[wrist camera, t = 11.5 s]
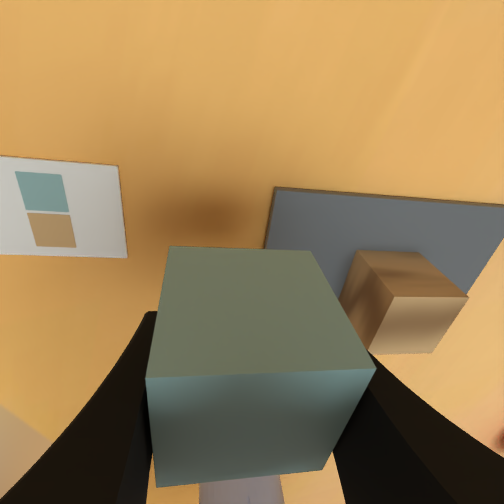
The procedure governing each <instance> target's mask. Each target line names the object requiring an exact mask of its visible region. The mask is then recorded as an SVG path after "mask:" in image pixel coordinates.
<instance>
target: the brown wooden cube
mask: <svg viewBox="0 0 504 504" xmlns="http://www.w3.org/2000/svg"><path fill="white" fill-rule="evenodd" d="M468 299H469V297H468V296H467V295H466V294H465V293H464V292H463V291H461V290H460V289H459V288H458V287H457V286H456V285H455V284H454V283H453V282H451V281H450V280H449V279H448V278H447V277H446V276H445V275H444V274H442V273H441V272H440V271H439V270H438V269H437V268H436V267H435V266H434V265H432V264H431V263H430V262H429V261H428V260H427V259H426V258H425V257H423V256H422V255H421V254H420V253H419V252H397V251H372V250H356V253H355V256H354V259H353V261H352V264H351V267H350V269H349V272H348V275H347V277H346V280H345V283H344V286H343V288H342V291H341V294H340V296H339V299H338V301H339V302H340V304H341V306H342V308H343V310H344V311H345V313H346V315H347V317H348V318H349V320H350V322H351V324H352V326H353V327H354V329H355V331H356V333H357V334H358V336H359V338H360V340H361V342H362V343H363V345H364V347H365V348H366V349H367V350H368V351H369V352H370V353H371V354H372V355H383V354H417V353H432V352H433V351H434V349H435V348H436V346H437V345H438V343H439V342H440V340H441V339H442V337H443V336H444V334H445V333H446V331H447V330H448V328H449V327H450V325H451V324H452V323H453V321H454V320H455V318H456V317H457V315H458V314H459V312H460V311H461V309H462V308H463V306H464V305H465V303H466V302H467V300H468Z"/></svg>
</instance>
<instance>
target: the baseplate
mask: <svg viewBox="0 0 504 504" xmlns="http://www.w3.org/2000/svg"><path fill="white" fill-rule="evenodd" d="M503 238H504V205H499V204H486V203H474V202H461V201H449V200H436V199H423V198H411V197H398V196H386V195H373V194H360V193H348V192H335V191H323V190H310V189H297V188H285V187H275V189H274V195H273V201H272V206H271V212H270V217H269V223H268V229H267V234H266V240H265V246H264V249H272V250H300V251H311V253H312V254H313V256H314V258H315V260H316V262H317V263H318V265H319V267H320V269H321V270H322V272H323V274H324V276H325V278H326V279H327V281H328V283H329V285H330V286H331V288H332V290H333V292H334V294H335V295H336V297H337V299H339V296H340V294H341V291H342V288H343V286H344V283H345V280H346V277H347V275H348V272H349V269H350V267H351V264H352V261H353V259H354V256H355V253H356V250H372V251H397V252H419V253H420V254H421V255H422V256H423V257H425V258H426V259H427V260H428V261H429V262H430V263H431V264H432V265H434V266H435V267H436V268H437V269H438V270H439V271H440V272H441V273H442V274H444V275H445V276H446V277H447V278H448V279H449V280H450V281H451V282H453V283H454V284H455V285H456V286H457V287H458V288H459V289H460V290H461V291H463V292H464V293H465V294H467V293H468V291H469V290H470V288H471V287H472V285H473V284H474V282H475V280H476V279H477V277H478V276H479V274H480V273H481V271H482V270H483V268H484V267H485V265H486V264H487V262H488V261H489V259H490V258H491V256H492V255H493V253H494V252H495V250H496V249H497V247H498V246H499V244H500V243H501V241H502V240H503Z"/></svg>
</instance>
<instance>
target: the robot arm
mask: <svg viewBox="0 0 504 504" xmlns="http://www.w3.org/2000/svg"><path fill="white" fill-rule="evenodd" d="M157 312H158V311H148V312H147V313H146V314H145V315H144V317H143V319H142V321H141V323H140V325H139V327H138V329H137V330H136V332H135V334H134V336H133V337H132V339H131V341H130V342H129V344H128V346H127V347H126V349H125V350H124V352H123V353H122V355H121V356H120V358H119V359H118V361H117V363H116V364H115V366H114V367H113V369H112V370H111V371H110V373H109V374H108V376H107V377H106V378H105V380H104V381H103V382H102V384H101V385H100V386H99V388H98V389H97V391H96V392H95V393H94V395H93V396H92V397H91V399H90V400H89V401H88V402H87V404H86V405H85V406H84V407H83V409H82V410H81V411H80V412H79V414H78V415H77V416H76V417H75V419H74V420H73V421H72V422H71V423H70V424H69V426H68V427H67V428H66V429H65V430H64V432H63V433H62V434H61V435H60V436H59V437H58V438H57V440H56V441H55V442H54V443H53V444H52V445H51V446H50V447H49V448H48V450H47V451H46V452H45V453H44V454H43V455H42V456H41V457H40V459H39V460H38V461H37V462H36V463H35V464H34V465H33V466H32V467H31V468H30V469H29V471H27V472H26V474H25V475H24V476H23V477H22V478H21V479H20V480H19V481H18V482H17V483H16V484H15V485H14V486H13V487H12V488H11V489H10V490H9V491H8V492H7V493H6V494H5V495H4V496H3V497H2V498H1V499H0V504H146V498H147V489H148V480H149V472H150V465H151V459H152V453H153V449H152V439H151V429H150V419H149V409H148V400H147V390H146V380H145V377H146V372H147V366H148V361H149V355H150V350H151V345H152V339H153V334H154V328H155V323H156V317H157ZM365 349H366V348H365ZM366 350H367V349H366ZM367 352H368V354H369V356H370V358H371V359H372V361H373V363H374V365H375V366H376V368H377V369H376V371H375V372H374V374H373V376H372V378H371V380H370V382H369V384H368V385H367V387H366V389H365V391H364V393H363V395H362V397H361V398H360V400H359V402H358V404H357V406H356V408H355V410H354V412H353V413H352V415H351V417H350V419H349V421H348V423H347V425H346V426H345V428H344V430H343V432H342V434H341V436H340V438H339V439H338V441H337V443H336V445H335V447H334V449H333V454H334V458H335V462H336V466H337V470H338V474H339V478H340V482H341V486H342V490H343V494H344V498H345V503H346V504H504V458H503V457H502V456H500V455H499V454H497V453H495V452H494V451H492V450H491V449H489V448H488V447H486V446H485V445H483V444H482V443H480V442H479V441H477V440H476V439H475V438H473V437H472V436H470V435H469V434H468V433H466V432H465V431H463V430H462V429H461V428H459V427H458V426H456V425H455V424H454V423H452V422H451V421H449V420H448V419H447V418H445V417H444V416H443V415H441V414H440V413H439V412H437V411H436V410H435V409H434V408H432V407H431V406H430V405H429V404H427V403H426V402H425V401H424V400H422V399H421V398H420V397H419V396H417V395H416V394H415V393H414V392H412V391H411V390H410V389H409V388H408V387H407V386H405V385H404V384H403V383H402V382H401V381H400V380H399V379H398V378H396V377H395V376H394V375H393V374H392V373H391V372H390V371H389V370H388V369H386V368H385V367H384V366H383V365H382V364H381V363H380V362H379V361H378V360H377V359H376V358H375V357H374V356H373V355H372V354H371V353H370V352H369V351H368V350H367ZM199 504H285V503H284V497H283V492H282V486H281V481H280V475H271V476H262V477H252V478H243V479H234V480H224V481H215V482H205V483H199Z"/></svg>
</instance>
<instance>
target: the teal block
mask: <svg viewBox="0 0 504 504" xmlns="http://www.w3.org/2000/svg"><path fill="white" fill-rule="evenodd" d="M376 369H377V368H376V366H375V365H374V363H373V361H372V359H371V358H370V356H369V354H368V352H367V350H366V349H365V347H364V345H363V343H362V342H361V340H360V338H359V336H358V334H357V333H356V331H355V329H354V327H353V326H352V324H351V322H350V320H349V318H348V317H347V315H346V313H345V311H344V310H343V308H342V306H341V304H340V302H339V301H338V299H337V297H336V295H335V294H334V292H333V290H332V288H331V286H330V285H329V283H328V281H327V279H326V278H325V276H324V274H323V272H322V270H321V269H320V267H319V265H318V263H317V262H316V260H315V258H314V256H313V254H312V253H311V251H300V250H272V249H244V248H215V247H187V246H170V247H169V252H168V257H167V263H166V268H165V274H164V279H163V285H162V290H161V296H160V301H159V306H158V312H157V317H156V323H155V328H154V334H153V339H152V345H151V350H150V355H149V361H148V366H147V372H146V377H145V380H146V390H147V400H148V409H149V419H150V429H151V439H152V449H153V459H154V469H155V478H156V488H158V487H168V486H177V485H187V484H196V483H205V482H215V481H224V480H234V479H243V478H252V477H262V476H271V475H281V474H290V473H299V472H309V471H318V470H322V469H323V467H324V466H325V464H326V462H327V460H328V458H329V456H330V454H331V452H332V451H333V449H334V447H335V445H336V443H337V441H338V439H339V438H340V436H341V434H342V432H343V430H344V428H345V426H346V425H347V423H348V421H349V419H350V417H351V415H352V413H353V412H354V410H355V408H356V406H357V404H358V402H359V400H360V398H361V397H362V395H363V393H364V391H365V389H366V387H367V385H368V384H369V382H370V380H371V378H372V376H373V374H374V372H375V371H376Z"/></svg>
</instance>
